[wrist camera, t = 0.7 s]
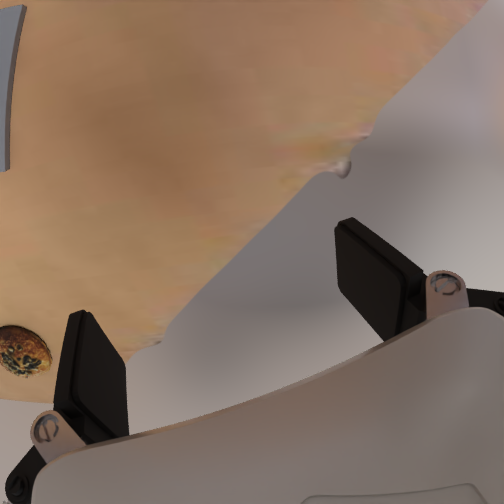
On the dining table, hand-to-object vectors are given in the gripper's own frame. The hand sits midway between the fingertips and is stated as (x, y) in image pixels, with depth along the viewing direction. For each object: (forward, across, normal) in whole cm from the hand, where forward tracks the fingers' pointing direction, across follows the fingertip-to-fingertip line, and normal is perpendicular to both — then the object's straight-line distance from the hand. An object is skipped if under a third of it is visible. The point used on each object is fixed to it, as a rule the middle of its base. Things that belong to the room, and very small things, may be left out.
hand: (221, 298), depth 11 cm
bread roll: (+28, +34, +20) cm, 48 cm away
